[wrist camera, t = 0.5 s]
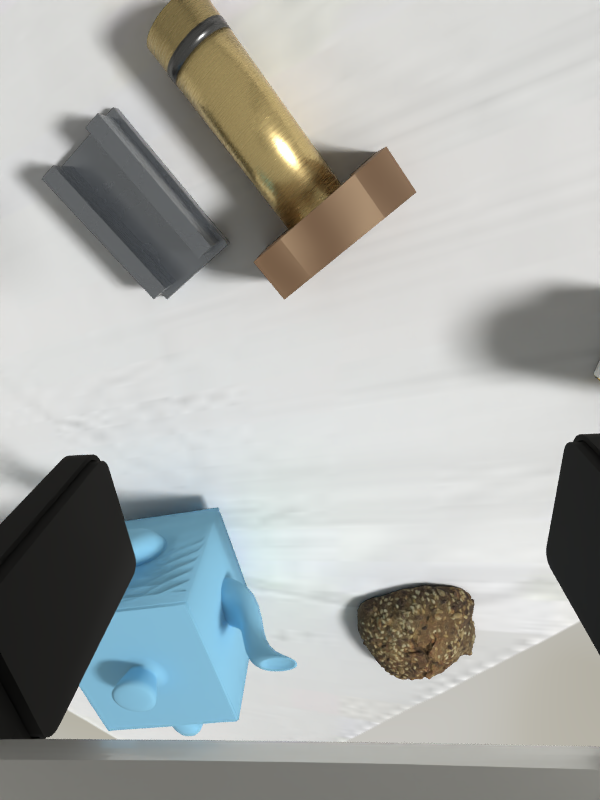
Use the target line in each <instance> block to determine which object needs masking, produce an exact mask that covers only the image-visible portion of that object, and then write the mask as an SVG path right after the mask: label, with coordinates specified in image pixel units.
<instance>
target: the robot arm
mask: <svg viewBox="0 0 600 800" xmlns="http://www.w3.org/2000/svg"><path fill="white" fill-rule="evenodd" d="M546 555H547V560H548V564H549V566H550V568H551V570H552V572H553V574H554V575H555V577H556V579H557V581H558V582H559V584H560V586H561V588H562V589H563V591H564V593H565V595H566V596H567V598H568V600H569V602H570V604H571V605H572V607H573V609H574V611H575V612H576V614H577V616H578V618H579V619H580V621H581V623H582V625H583V626H584V628H585V630H586V632H587V633H588V635H589V637H590V639H591V641H592V642H593V644H594V646H595V648H596V649H597V651H598V653H599V655H600V434H579V435H578V436H576V438H575V439H574V441H573V442H569V443H567V444H566V446H565V449H564V453H563V459H562V464H561V470H560V475H559V481H558V486H557V492H556V497H555V503H554V509H553V514H552V520H551V525H550V531H549V536H548V542H547V548H546ZM135 568H136V558H135V554H134V550H133V547H132V544H131V540H130V537H129V534H128V530H127V527H126V524H125V521H124V517H123V514H122V511H121V507H120V504H119V501H118V497H117V494H116V491H115V487H114V484H113V481H112V477H111V474H110V471H109V468H108V465H107V464H106V462H104V461H100V459H99V458H98V457H97V456H96V455H74V456H66V457H65V458H63V459H62V460H61V461H60V462H59V463H58V464H57V465H56V466H55V467H54V469H53V470H52V471H51V472H50V473H49V474H48V475H47V476H46V477H45V478H44V479H43V480H42V481H41V482H40V483H39V484H38V485H37V486H36V487H35V488H34V489H33V491H32V492H31V493H30V494H29V495H28V496H27V497H26V498H25V499H24V500H23V501H22V502H21V503H20V504H19V505H18V506H17V507H16V508H15V509H14V510H13V511H12V513H11V514H10V515H9V516H8V517H7V518H6V519H5V520H4V521H3V522H2V523H1V524H0V800H600V747H599V746H598V747H596V746H546V745H492V744H491V745H489V744H441V743H375V742H370V743H369V742H306V741H225V740H102V739H101V740H99V739H97V740H96V739H94V740H93V739H45V738H46V737H50V736H52V735H53V734H54V733H55V731H56V730H57V728H58V726H59V725H60V723H61V721H62V719H63V717H64V715H65V713H66V711H67V709H68V707H69V705H70V703H71V701H72V699H73V697H74V695H75V693H76V690H77V688H78V686H79V684H80V682H81V680H82V678H83V676H84V674H85V672H86V670H87V668H88V666H89V664H90V662H91V660H92V658H93V656H94V654H95V652H96V650H97V648H98V646H99V644H100V642H101V640H102V638H103V636H104V634H105V632H106V630H107V628H108V626H109V624H110V622H111V620H112V618H113V616H114V614H115V612H116V610H117V608H118V606H119V604H120V602H121V600H122V598H123V596H124V594H125V592H126V590H127V588H128V585H129V583H130V581H131V579H132V577H133V575H134V573H135Z"/></svg>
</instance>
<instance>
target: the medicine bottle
mask: <svg viewBox="0 0 600 800" xmlns="http://www.w3.org/2000/svg"><path fill="white" fill-rule="evenodd" d="M594 375H595V377H596V378H597V379H599V380H600V361H599V363H598V365H597V368H596V370H595V372H594Z"/></svg>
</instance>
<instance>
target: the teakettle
mask: <svg viewBox="0 0 600 800" xmlns="http://www.w3.org/2000/svg"><path fill="white" fill-rule="evenodd" d="M125 524H126V527H127V530H128V534H129V537H130V540H131V544H132V547H133V550H134V554H135V558H136V568H135V573H134V575H133V577H132V579H131V581H130V583H129V585H128V588H127V590H126V592H125V594H124V596H123V598H122V600H121V602H120V604H119V606H118V608H117V610H116V612H115V614H114V616H113V618H112V620H111V622H110V624H109V626H108V628H107V630H106V632H105V634H104V636H103V638H102V640H101V642H100V644H99V646H98V648H97V650H96V652H95V654H94V656H93V658H92V660H91V662H90V664H89V666H88V668H87V670H86V672H85V674H84V676H83V678H82V680H81V682H80V684H79V686H80V688H81V690H82V691H83V693H84V694H85V696H86V697H87V699H88V700H89V702H90V704H91V705H92V707H93V708H94V710H95V711H96V713H97V714H98V716H99V717H100V719H101V721H102V722H103V724H104V725H105V726H106V728H107V729H108V731H112V730H124V729H138V728H154V727H168V726H173V728H174V729H175V730H176V731H177V732H179V733H180V734H182V735H185V736H193V735H196V734H197V733H198V732H199V731H200V730H201V727H202V725H203V724H205V723H217V722H234V721H237V720H239V714H240V708H241V703H242V697H243V691H244V685H245V679H246V673H247V667H248V661H249V659H250V660H251V662H252V663H253V664H254V665H256V666H257V667H259V668H261V669H264V670H268V671H286V670H290V669H293V668H295V667H296V666H297V663H296V661H294V660H293V659H291V658H289V657H287V656H284V655H282V654H280V653H278V652H276V651H275V650H274V649H273V648H272V647H271V646H270V645H269V643H268V642H267V640H266V637H265V633H264V629H263V623H262V617H261V613H260V609H259V606H258V603H257V601H256V599H255V597H254V595H253V594H252V592H251V591H250V590H249V589H248V588H247V586H246V583H245V580H244V577H243V575H242V572H241V569H240V566H239V563H238V561H237V558H236V555H235V552H234V550H233V547H232V544H231V541H230V538H229V536H228V533H227V530H226V527H225V525H224V522H223V519H222V516H221V514H220V511H219V508H211V509H204V510H197V511H190V512H183V513H177V514H170V515H162V516H155V517H149V518H142V519H135V520H128V521H125Z"/></svg>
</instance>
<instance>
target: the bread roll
mask: <svg viewBox="0 0 600 800" xmlns="http://www.w3.org/2000/svg"><path fill="white" fill-rule="evenodd" d="M473 608H474V600H473V599H471V596H470V594H469V593H467V592H466V591H464V590H463V589H461V588H456V587H446V586H436V587H432V586H428V585H425V586H420V587H415V588H409V589H401V590H398V591H395V592H392V593H390V594H387V595H384V596H380V597H373V598H371V599H369V600H367V601H365V602H363V603H362V604H361V605H360V606H359V609H358V616H357V617H358V630H359V633H360V635H361V638H362V639H363V640H364V642H363V644H365V645H366V646H367V648H368V649H369V651H370V652H371V654H372V655H373V656H374V658H375V659H376V661H377V662H378V663H379V664H380V665H381V667H383V668H385V671H386V672H389V673H390V675H394V676H395V677H397V678H399V679H410V680H414V679H422V678H423V677H426V678H428V679H431V677H433V676H435V675H437V674H440V673H442V672H444V670H445V669H447V668H448V667H449V666H450V665H452V664H453V663H454V662H456V661H457V660H458V658H459V656H461V655H472V648H473V643H474V640H475V637H476V636H475V627H474V622H473V621H472V614H473Z"/></svg>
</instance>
